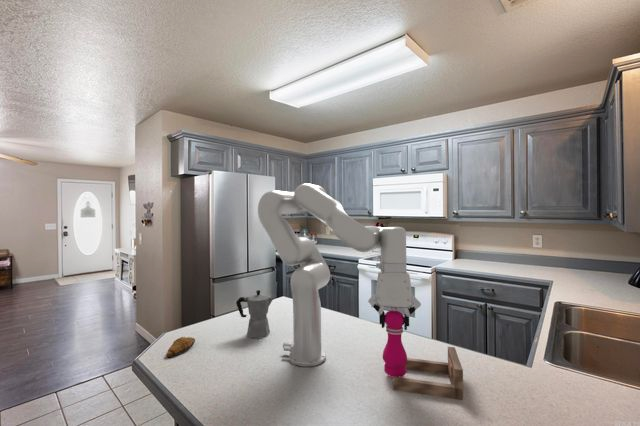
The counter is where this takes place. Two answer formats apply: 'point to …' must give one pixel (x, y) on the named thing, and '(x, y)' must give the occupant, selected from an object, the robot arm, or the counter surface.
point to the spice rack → (434, 388)
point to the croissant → (180, 346)
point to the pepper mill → (394, 344)
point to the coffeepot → (256, 314)
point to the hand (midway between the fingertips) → (394, 326)
